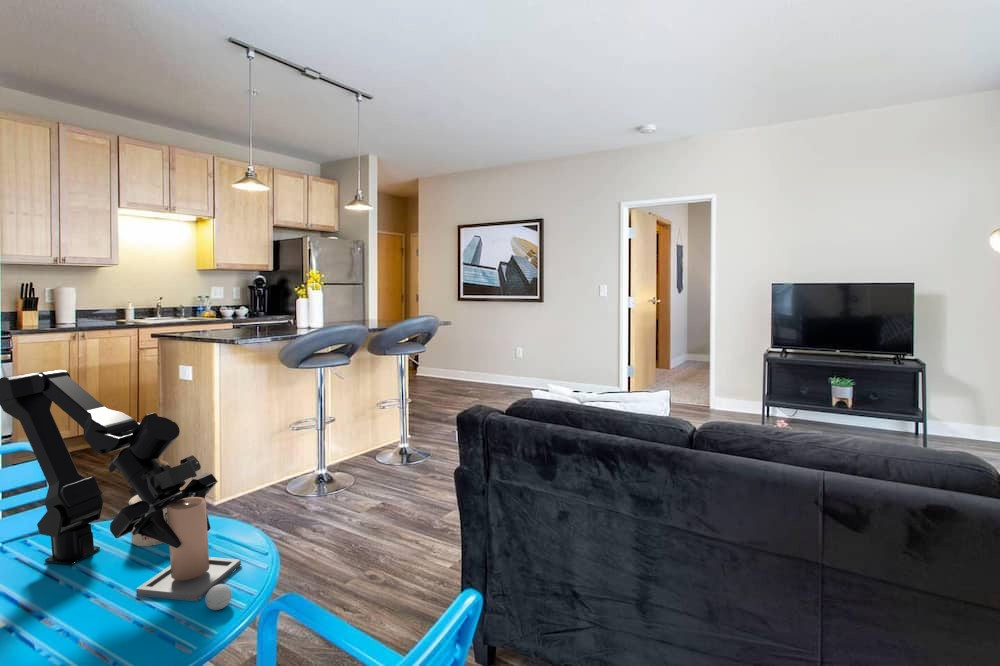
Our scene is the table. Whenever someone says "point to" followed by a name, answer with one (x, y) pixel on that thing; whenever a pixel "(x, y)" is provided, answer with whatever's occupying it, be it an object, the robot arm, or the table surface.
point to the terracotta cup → (189, 538)
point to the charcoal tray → (188, 581)
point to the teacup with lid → (141, 539)
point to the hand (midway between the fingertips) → (194, 538)
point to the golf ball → (218, 597)
